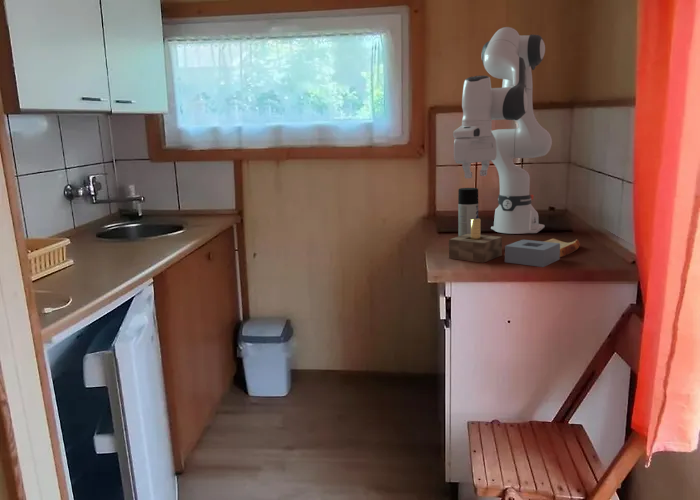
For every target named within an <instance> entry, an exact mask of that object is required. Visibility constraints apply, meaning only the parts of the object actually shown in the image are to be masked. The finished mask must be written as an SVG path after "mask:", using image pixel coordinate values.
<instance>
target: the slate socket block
mask: <svg viewBox="0 0 700 500" xmlns="http://www.w3.org/2000/svg"><path fill="white" fill-rule="evenodd" d="M560 259H561V257H560V243H552V242H543V240H542V241H541V240H532V239H520V240H518V241H515V242H511V243H509V244H506V245H504V263H508V264H516V265H522V266H523V265H524V266H529V267H530V266H532V267H540V268H544V267H547V266H549V265H551V264H553V263H555V262H557V261H559V260H560Z"/></svg>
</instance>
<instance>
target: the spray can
mask: <svg viewBox="0 0 700 500" xmlns="http://www.w3.org/2000/svg"><path fill="white" fill-rule="evenodd" d="M457 196H458V200H457V201H458V202H457V205H458V213H457V214H458V216H457V217H458V219H457V220H458V221H457V222H458V226H457V227H458V229H457V230H458V233H457V234H458V237H459V236H462V235H465V234H471V219H479V188H477V187H460V188H458V195H457Z"/></svg>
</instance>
